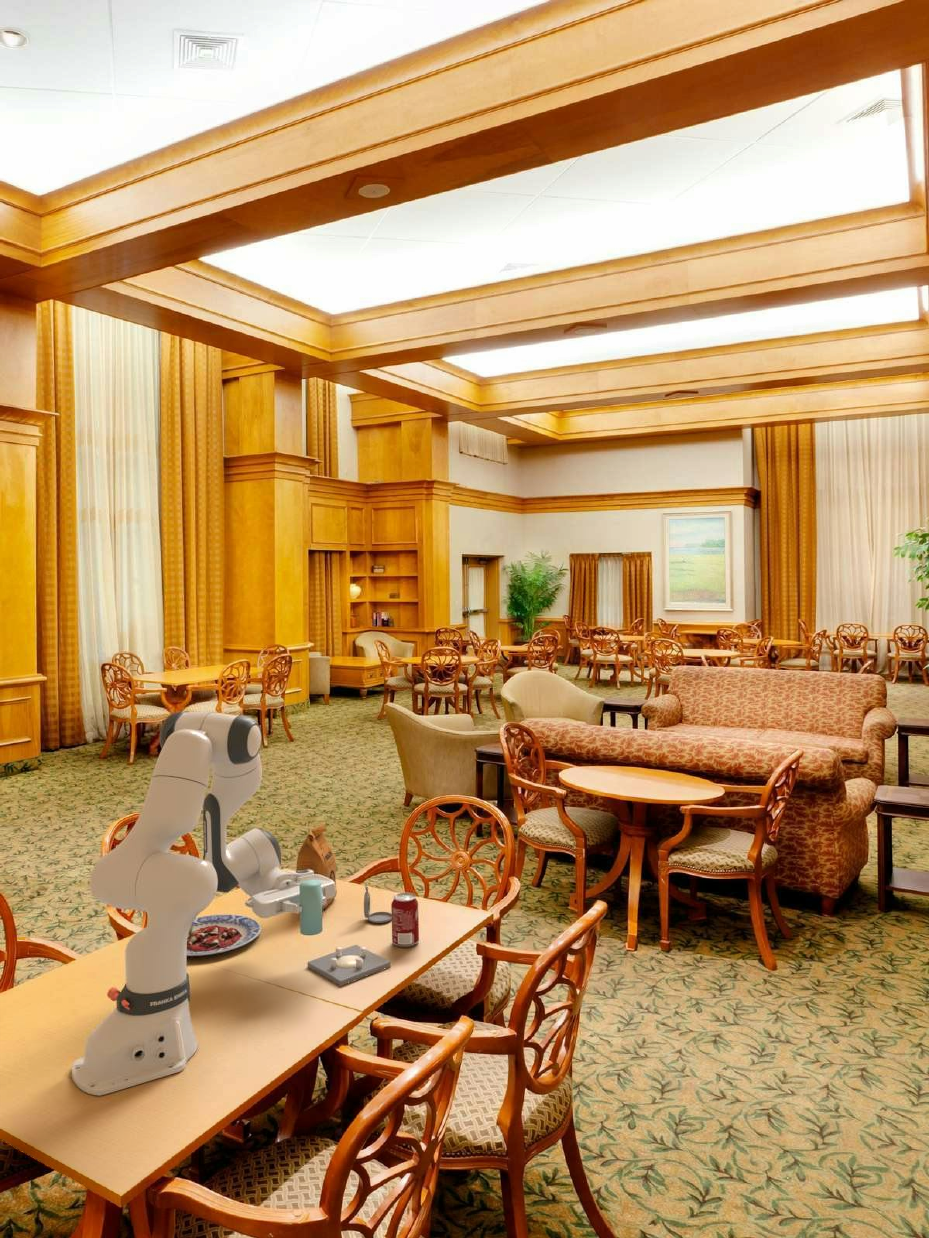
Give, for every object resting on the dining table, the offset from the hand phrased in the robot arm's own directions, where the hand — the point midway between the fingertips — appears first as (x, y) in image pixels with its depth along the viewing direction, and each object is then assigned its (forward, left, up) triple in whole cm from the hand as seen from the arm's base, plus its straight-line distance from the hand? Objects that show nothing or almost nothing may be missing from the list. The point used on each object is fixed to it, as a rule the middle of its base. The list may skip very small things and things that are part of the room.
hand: (312, 905), depth 192 cm
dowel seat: (+10, 0, -17) cm, 20 cm away
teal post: (0, 0, -6) cm, 6 cm away
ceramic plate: (-7, +38, -18) cm, 43 cm away
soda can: (+28, +1, -17) cm, 33 cm away
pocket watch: (+32, +19, -17) cm, 41 cm away
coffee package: (+27, +40, -17) cm, 51 cm away
